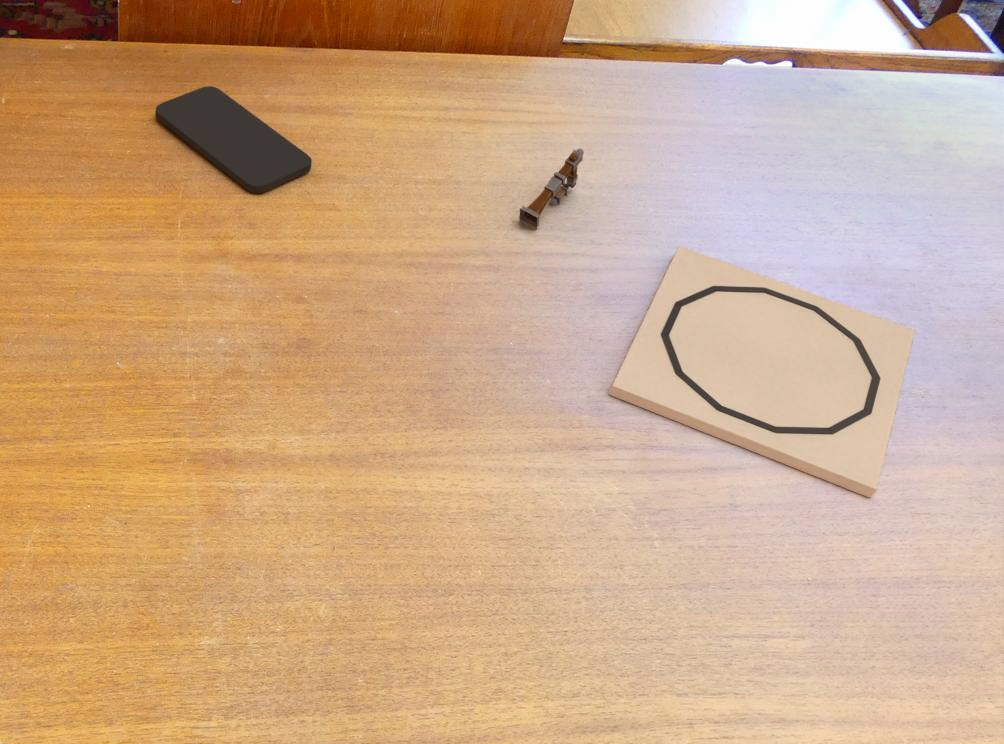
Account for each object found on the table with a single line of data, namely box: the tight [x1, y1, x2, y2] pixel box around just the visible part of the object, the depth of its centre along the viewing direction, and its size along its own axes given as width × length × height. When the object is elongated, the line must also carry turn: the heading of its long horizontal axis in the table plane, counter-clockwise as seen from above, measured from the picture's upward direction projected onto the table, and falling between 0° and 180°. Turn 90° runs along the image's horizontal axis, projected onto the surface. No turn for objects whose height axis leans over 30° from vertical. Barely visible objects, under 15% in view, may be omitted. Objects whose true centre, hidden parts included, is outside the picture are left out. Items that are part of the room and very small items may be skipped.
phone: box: [155, 85, 313, 194], centre depth 101 cm, size 7×1×15 cm
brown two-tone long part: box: [518, 147, 585, 230], centre depth 98 cm, size 2×8×4 cm, turn 140°
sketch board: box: [608, 245, 916, 499], centre depth 88 cm, size 20×20×1 cm
